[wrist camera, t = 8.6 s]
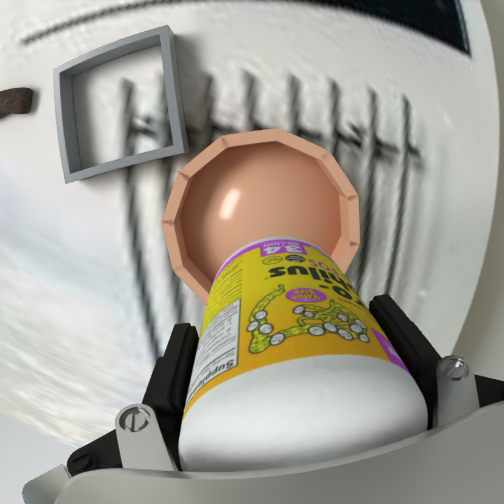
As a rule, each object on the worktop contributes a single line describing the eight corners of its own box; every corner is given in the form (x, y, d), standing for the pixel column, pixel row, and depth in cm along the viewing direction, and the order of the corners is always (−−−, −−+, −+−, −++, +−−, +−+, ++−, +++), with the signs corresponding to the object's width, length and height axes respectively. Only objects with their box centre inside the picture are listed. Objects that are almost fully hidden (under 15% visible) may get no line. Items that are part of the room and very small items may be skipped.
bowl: (159, 149, 25) (148, 150, 22) (339, 125, 25) (351, 123, 21) (194, 309, 31) (188, 327, 28) (348, 287, 31) (358, 303, 27)
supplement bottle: (364, 276, 14) (511, 491, 2) (288, 361, 16) (325, 577, 4) (259, 203, 13) (345, 560, 1) (187, 308, 15) (122, 565, 3)
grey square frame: (65, 72, 21) (53, 69, 19) (173, 33, 21) (167, 24, 19) (77, 180, 26) (65, 184, 23) (189, 152, 25) (184, 152, 23)
